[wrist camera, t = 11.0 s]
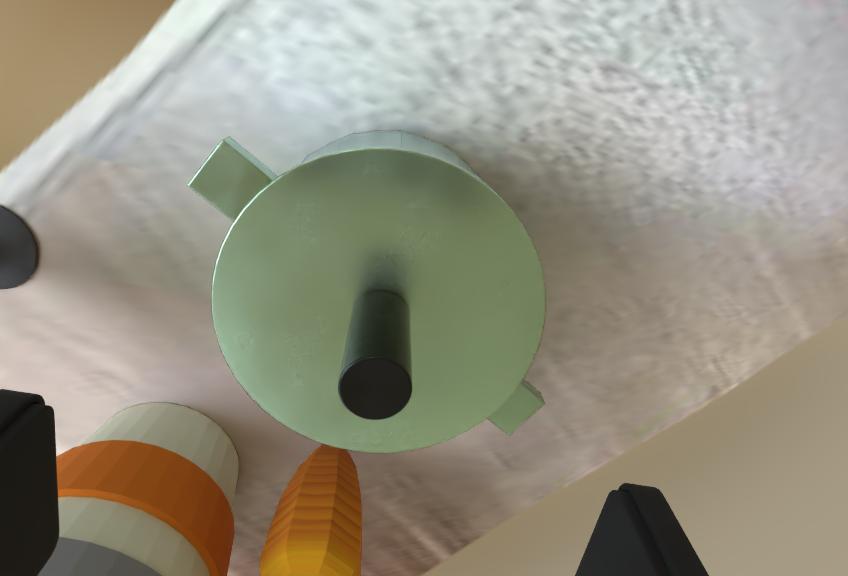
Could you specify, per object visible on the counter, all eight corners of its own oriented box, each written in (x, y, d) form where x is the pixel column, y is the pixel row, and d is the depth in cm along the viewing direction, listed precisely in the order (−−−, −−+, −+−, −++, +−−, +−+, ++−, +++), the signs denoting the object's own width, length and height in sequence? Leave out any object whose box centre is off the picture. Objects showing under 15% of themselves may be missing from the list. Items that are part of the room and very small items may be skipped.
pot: (330, 36, 28) (302, 29, 20) (579, 268, 33) (635, 336, 25) (182, 225, 31) (107, 283, 23) (429, 411, 36) (437, 511, 28)
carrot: (385, 459, 37) (375, 699, 23) (315, 484, 38) (265, 733, 24) (353, 398, 36) (322, 619, 22) (280, 425, 36) (204, 657, 22)
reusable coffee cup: (41, 379, 34) (-204, 601, 20) (255, 373, 35) (158, 587, 21) (89, 541, 39) (-82, 811, 25) (277, 534, 39) (210, 796, 26)
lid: (361, 64, 21) (345, 70, 15) (605, 293, 25) (672, 371, 19) (154, 319, 25) (72, 408, 18) (396, 486, 28) (395, 605, 22)
